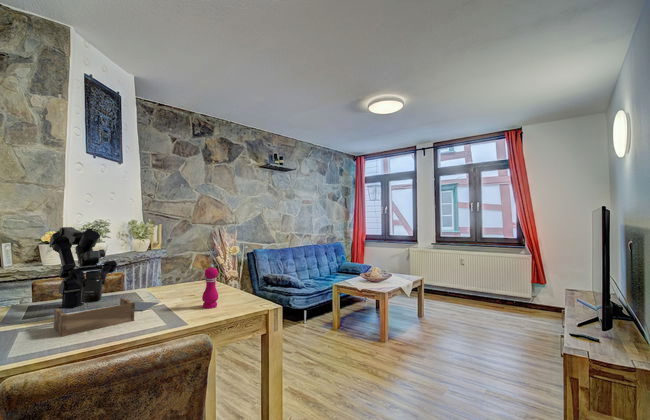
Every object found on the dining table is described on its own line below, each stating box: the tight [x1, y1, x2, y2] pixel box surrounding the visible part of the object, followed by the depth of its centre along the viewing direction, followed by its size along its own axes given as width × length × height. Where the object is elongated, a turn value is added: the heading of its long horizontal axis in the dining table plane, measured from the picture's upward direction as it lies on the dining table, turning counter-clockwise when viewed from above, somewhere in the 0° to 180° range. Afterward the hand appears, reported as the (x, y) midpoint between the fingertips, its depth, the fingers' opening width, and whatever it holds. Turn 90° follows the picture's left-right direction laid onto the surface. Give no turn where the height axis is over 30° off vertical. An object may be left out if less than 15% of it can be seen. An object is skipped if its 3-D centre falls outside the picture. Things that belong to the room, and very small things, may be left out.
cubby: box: [53, 297, 135, 337], centre depth 117 cm, size 12×22×7 cm, turn 142°
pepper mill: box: [201, 263, 219, 309], centre depth 144 cm, size 7×7×20 cm
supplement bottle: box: [81, 270, 104, 304], centre depth 125 cm, size 7×7×12 cm
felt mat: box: [132, 301, 159, 312], centre depth 140 cm, size 12×12×1 cm
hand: (93, 285), depth 124 cm, fingers closed on supplement bottle, 7 cm apart
